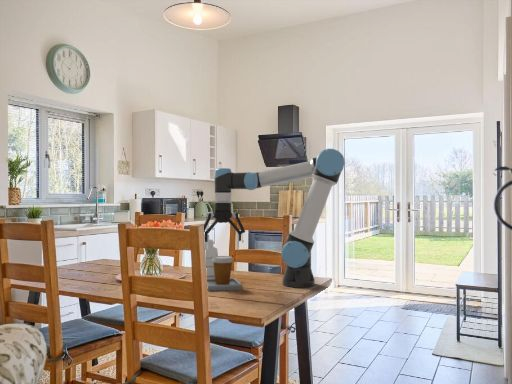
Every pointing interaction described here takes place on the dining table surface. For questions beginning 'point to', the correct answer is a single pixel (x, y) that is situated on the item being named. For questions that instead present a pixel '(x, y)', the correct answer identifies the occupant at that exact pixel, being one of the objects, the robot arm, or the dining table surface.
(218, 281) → the disposable coffee cup
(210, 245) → the grater
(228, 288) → the grey square tray
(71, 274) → the dining table surface
